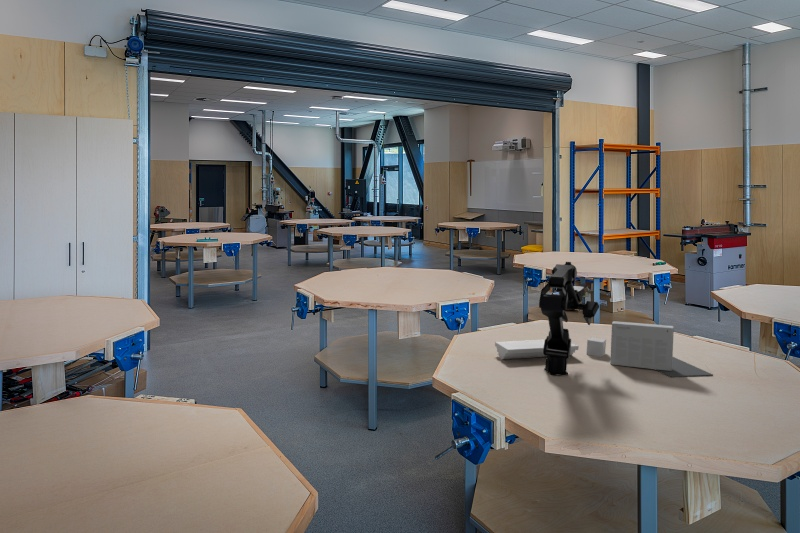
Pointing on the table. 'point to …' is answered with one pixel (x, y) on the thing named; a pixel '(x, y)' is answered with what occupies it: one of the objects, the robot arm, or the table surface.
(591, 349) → the white cube
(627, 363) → the skincare box
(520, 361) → the table surface
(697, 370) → the rubber mat
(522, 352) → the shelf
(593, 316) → the robot arm
